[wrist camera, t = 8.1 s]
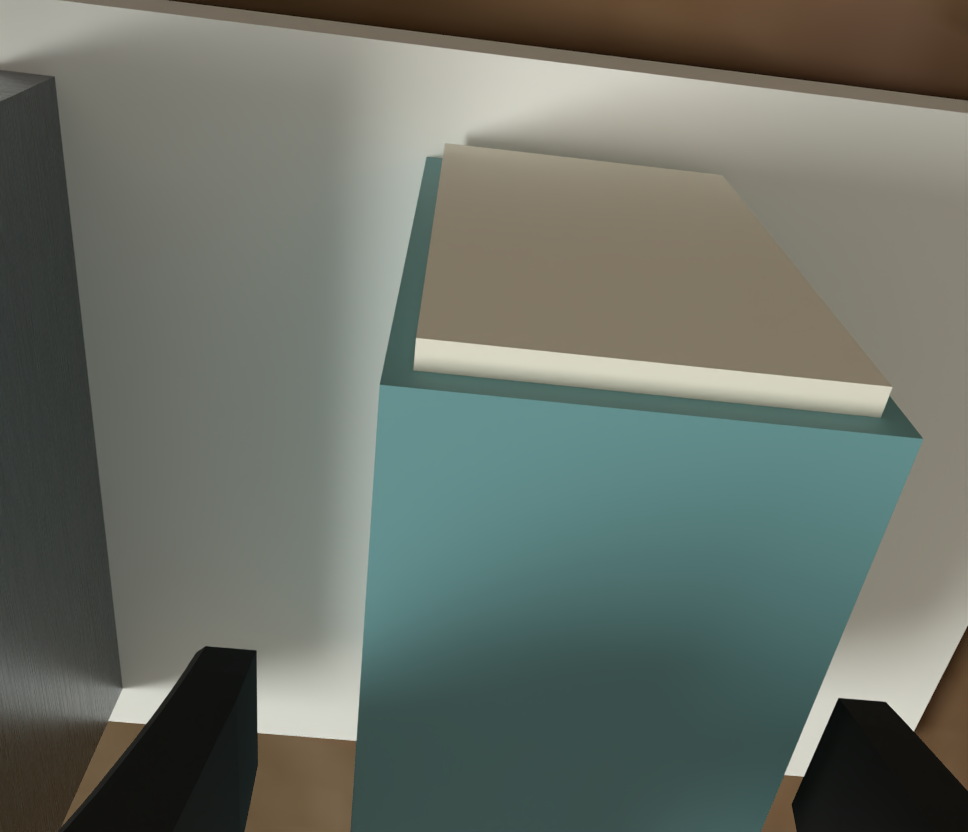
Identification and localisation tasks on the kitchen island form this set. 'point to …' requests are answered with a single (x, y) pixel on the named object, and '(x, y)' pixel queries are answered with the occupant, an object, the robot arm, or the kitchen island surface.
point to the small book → (607, 505)
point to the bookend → (46, 484)
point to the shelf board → (374, 291)
